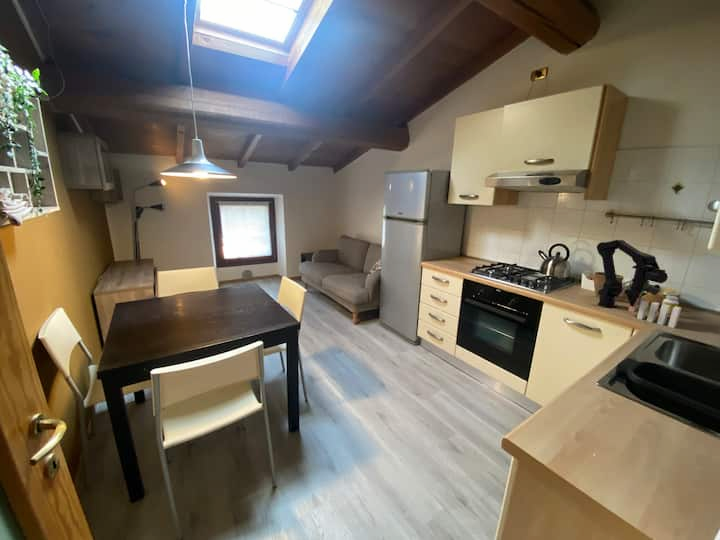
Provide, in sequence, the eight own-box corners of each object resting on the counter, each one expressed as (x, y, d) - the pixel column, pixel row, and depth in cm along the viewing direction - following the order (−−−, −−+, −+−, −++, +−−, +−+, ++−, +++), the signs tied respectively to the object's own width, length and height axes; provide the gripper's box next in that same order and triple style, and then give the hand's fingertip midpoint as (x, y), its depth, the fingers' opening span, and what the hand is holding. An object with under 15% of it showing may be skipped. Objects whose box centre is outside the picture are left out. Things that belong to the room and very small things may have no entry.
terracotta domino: (628, 310, 160) (632, 293, 158) (631, 309, 163) (636, 292, 160) (633, 312, 158) (637, 294, 156) (636, 310, 161) (640, 293, 159)
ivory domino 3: (656, 323, 151) (662, 305, 148) (659, 321, 153) (664, 303, 151) (662, 325, 149) (667, 306, 147) (665, 323, 152) (670, 305, 149)
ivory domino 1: (636, 318, 157) (641, 300, 155) (639, 316, 160) (644, 299, 158) (641, 319, 156) (646, 301, 153) (644, 317, 158) (649, 300, 156)
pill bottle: (678, 317, 160) (683, 298, 158) (664, 316, 162) (670, 297, 159) (668, 313, 166) (674, 295, 164) (656, 312, 167) (661, 294, 165)
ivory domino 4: (667, 326, 147) (673, 307, 145) (670, 324, 150) (675, 306, 148) (673, 327, 146) (679, 309, 143) (676, 326, 148) (681, 307, 146)
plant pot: (586, 297, 193) (591, 273, 189) (592, 293, 202) (597, 270, 199) (615, 303, 182) (621, 278, 178) (620, 299, 191) (626, 275, 187)
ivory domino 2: (646, 320, 154) (651, 303, 152) (649, 319, 157) (654, 301, 154) (651, 322, 152) (656, 304, 150) (654, 320, 155) (659, 302, 153)
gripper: (656, 283, 145) (647, 313, 148) (666, 279, 155) (658, 307, 158) (627, 278, 154) (620, 306, 157) (638, 275, 164) (632, 301, 167)
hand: (633, 305), depth 160 cm, fingers closed on terracotta domino, 5 cm apart
